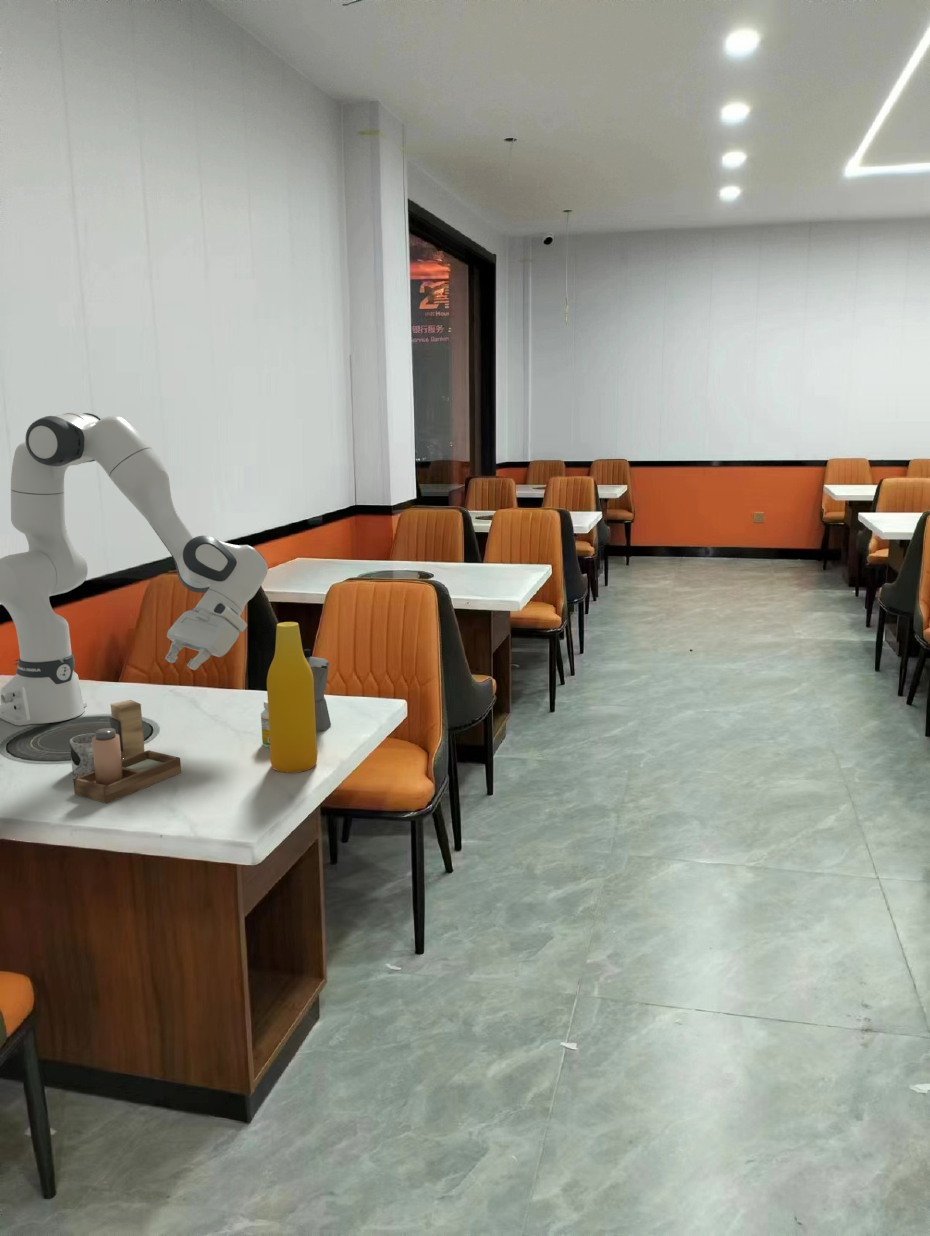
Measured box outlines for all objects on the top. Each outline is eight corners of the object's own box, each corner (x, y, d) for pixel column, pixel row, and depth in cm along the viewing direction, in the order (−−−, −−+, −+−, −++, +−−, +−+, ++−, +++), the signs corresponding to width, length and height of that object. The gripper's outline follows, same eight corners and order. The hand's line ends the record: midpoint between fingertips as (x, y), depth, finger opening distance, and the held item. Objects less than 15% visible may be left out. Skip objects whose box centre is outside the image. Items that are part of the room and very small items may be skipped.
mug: (71, 767, 199) (68, 736, 198) (106, 762, 202) (103, 731, 200) (74, 784, 190) (71, 751, 189) (111, 779, 193) (108, 746, 191)
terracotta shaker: (90, 784, 186) (85, 732, 184) (111, 776, 190) (106, 725, 188) (108, 789, 183) (103, 736, 181) (128, 781, 187) (124, 729, 185)
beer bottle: (273, 758, 203) (266, 619, 197) (319, 756, 204) (313, 618, 198) (268, 774, 194) (260, 629, 188) (315, 772, 195) (309, 628, 189)
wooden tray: (74, 794, 185) (73, 778, 185) (149, 764, 200) (148, 750, 200) (107, 803, 181) (105, 787, 180) (181, 772, 196) (180, 757, 195)
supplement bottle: (278, 738, 216) (276, 695, 214) (293, 743, 212) (291, 700, 210) (257, 744, 212) (255, 700, 210) (271, 750, 208) (269, 705, 206)
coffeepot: (345, 727, 222) (342, 649, 219) (313, 738, 215) (309, 657, 212) (301, 714, 232) (298, 639, 229) (269, 724, 225) (264, 647, 222)
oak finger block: (112, 755, 206) (107, 704, 203) (134, 749, 209) (130, 699, 207) (121, 760, 203) (117, 709, 200) (144, 754, 206) (140, 704, 204)
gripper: (183, 598, 221) (145, 648, 216) (231, 609, 207) (193, 664, 202) (202, 614, 225) (166, 664, 220) (251, 627, 211) (214, 680, 206)
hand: (179, 664), depth 211 cm, fingers open, 8 cm apart
